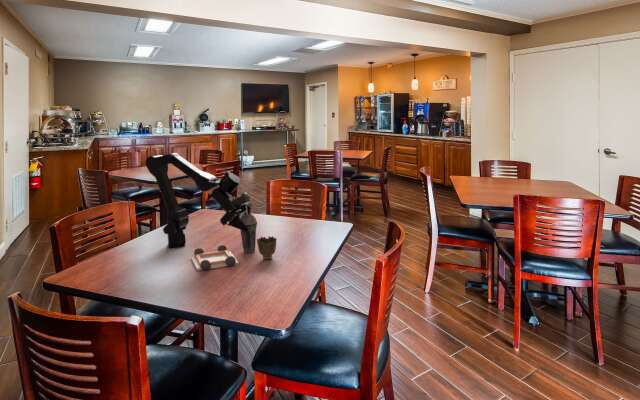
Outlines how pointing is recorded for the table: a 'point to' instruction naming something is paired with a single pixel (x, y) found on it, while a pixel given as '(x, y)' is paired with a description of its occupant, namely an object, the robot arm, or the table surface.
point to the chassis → (213, 258)
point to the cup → (267, 247)
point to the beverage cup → (249, 232)
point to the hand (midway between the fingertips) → (251, 228)
